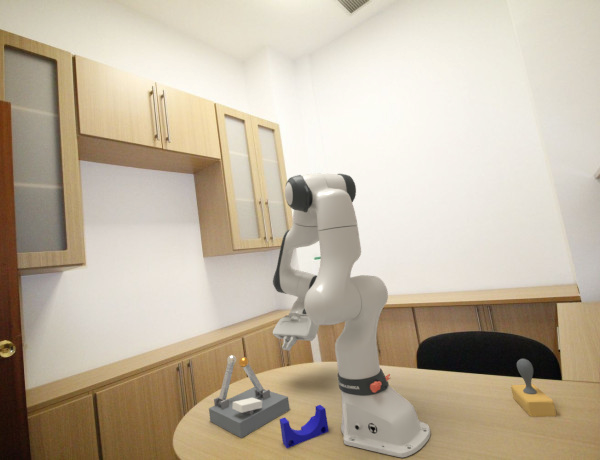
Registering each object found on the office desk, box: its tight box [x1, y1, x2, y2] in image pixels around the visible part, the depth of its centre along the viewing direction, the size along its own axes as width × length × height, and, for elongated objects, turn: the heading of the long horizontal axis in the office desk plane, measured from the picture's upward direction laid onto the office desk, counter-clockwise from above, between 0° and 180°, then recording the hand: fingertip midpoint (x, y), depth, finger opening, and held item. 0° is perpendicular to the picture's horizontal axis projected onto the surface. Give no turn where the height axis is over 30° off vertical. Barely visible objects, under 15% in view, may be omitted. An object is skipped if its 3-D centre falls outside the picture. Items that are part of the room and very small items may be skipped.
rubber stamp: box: [510, 358, 557, 418], centre depth 81 cm, size 10×6×12 cm, turn 166°
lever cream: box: [217, 354, 237, 406], centre depth 103 cm, size 3×3×15 cm
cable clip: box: [279, 404, 330, 449], centre depth 84 cm, size 12×4×6 cm, turn 113°
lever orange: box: [238, 356, 264, 396], centre depth 101 cm, size 3×3×15 cm
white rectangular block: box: [232, 398, 262, 413], centre depth 93 cm, size 5×7×2 cm
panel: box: [208, 386, 291, 439], centre depth 100 cm, size 18×18×6 cm
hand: (285, 349), depth 112 cm, fingers closed
